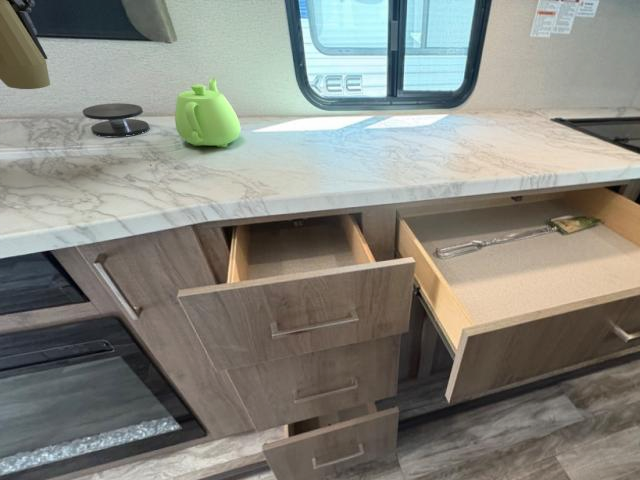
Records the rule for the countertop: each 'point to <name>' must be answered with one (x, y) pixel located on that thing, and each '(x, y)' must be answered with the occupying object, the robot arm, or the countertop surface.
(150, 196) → the countertop surface
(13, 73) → the squeeze bottle
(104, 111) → the stand
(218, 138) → the teapot
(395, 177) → the countertop surface
